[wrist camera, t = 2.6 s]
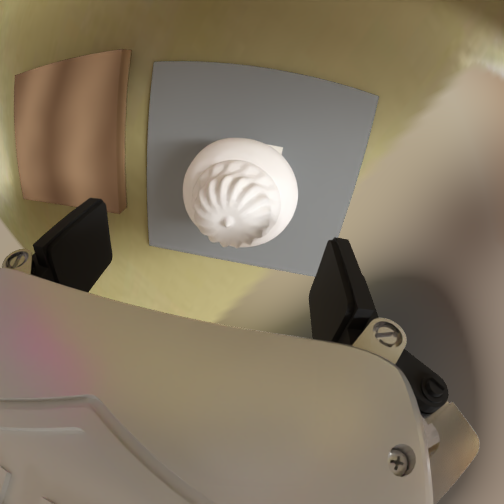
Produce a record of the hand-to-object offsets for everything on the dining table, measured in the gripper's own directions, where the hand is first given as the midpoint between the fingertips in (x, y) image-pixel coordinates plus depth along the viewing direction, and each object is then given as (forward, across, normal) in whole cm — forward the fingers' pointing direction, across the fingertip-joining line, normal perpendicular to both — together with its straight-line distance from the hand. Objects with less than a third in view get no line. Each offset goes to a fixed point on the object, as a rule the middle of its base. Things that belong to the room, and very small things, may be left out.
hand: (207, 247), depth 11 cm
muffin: (+8, -1, -1) cm, 8 cm away
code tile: (+8, -1, -1) cm, 8 cm away
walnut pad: (+9, +14, -3) cm, 17 cm away
